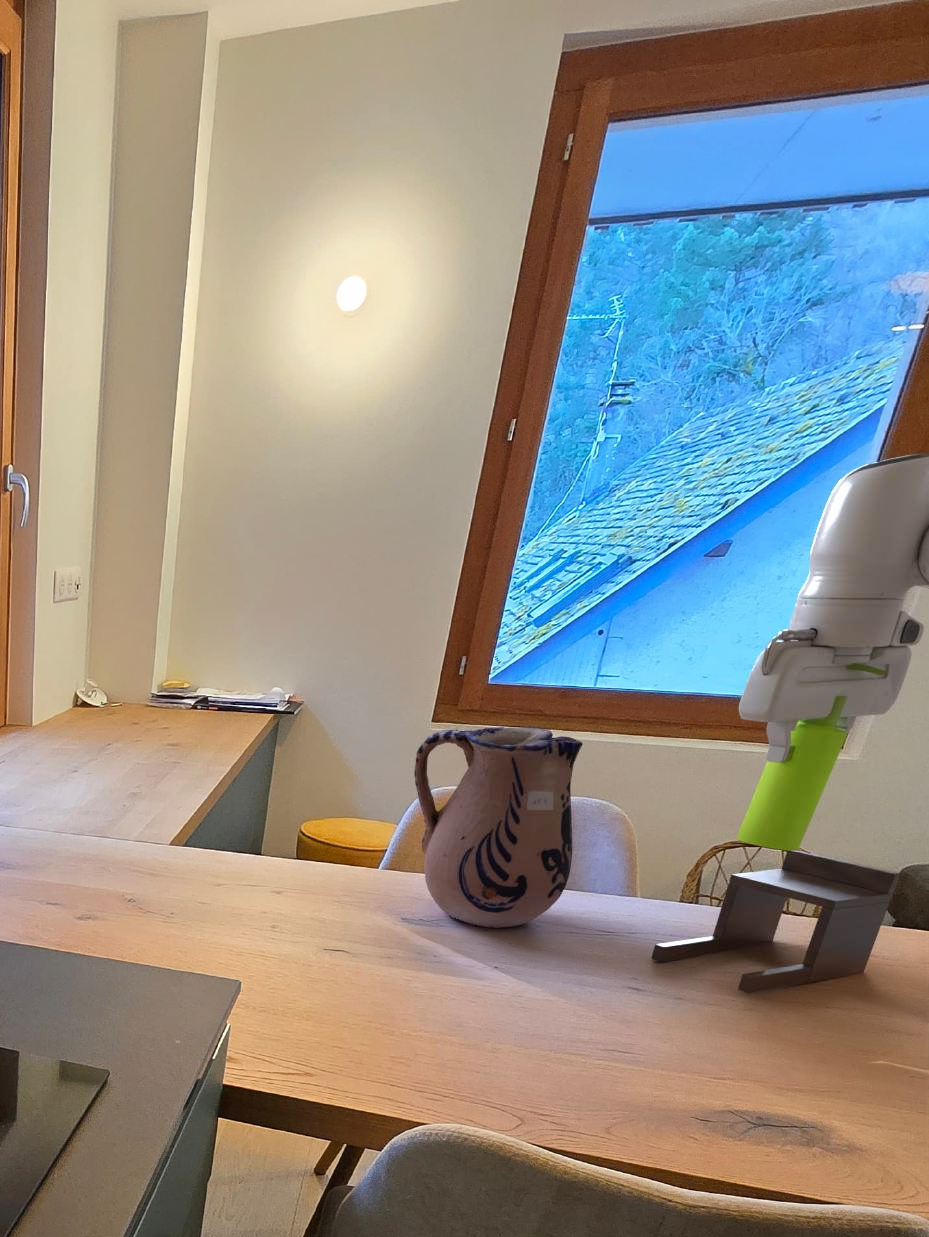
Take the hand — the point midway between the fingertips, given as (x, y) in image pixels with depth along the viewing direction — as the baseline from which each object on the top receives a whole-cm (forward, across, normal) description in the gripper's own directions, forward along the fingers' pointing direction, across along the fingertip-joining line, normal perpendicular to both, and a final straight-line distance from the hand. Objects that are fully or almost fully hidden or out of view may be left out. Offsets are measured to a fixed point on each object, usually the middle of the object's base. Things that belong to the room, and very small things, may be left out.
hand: (800, 759), depth 115 cm
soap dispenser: (+10, -1, 0) cm, 10 cm away
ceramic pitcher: (+25, -14, +27) cm, 40 cm away
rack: (+25, +4, 0) cm, 25 cm away
